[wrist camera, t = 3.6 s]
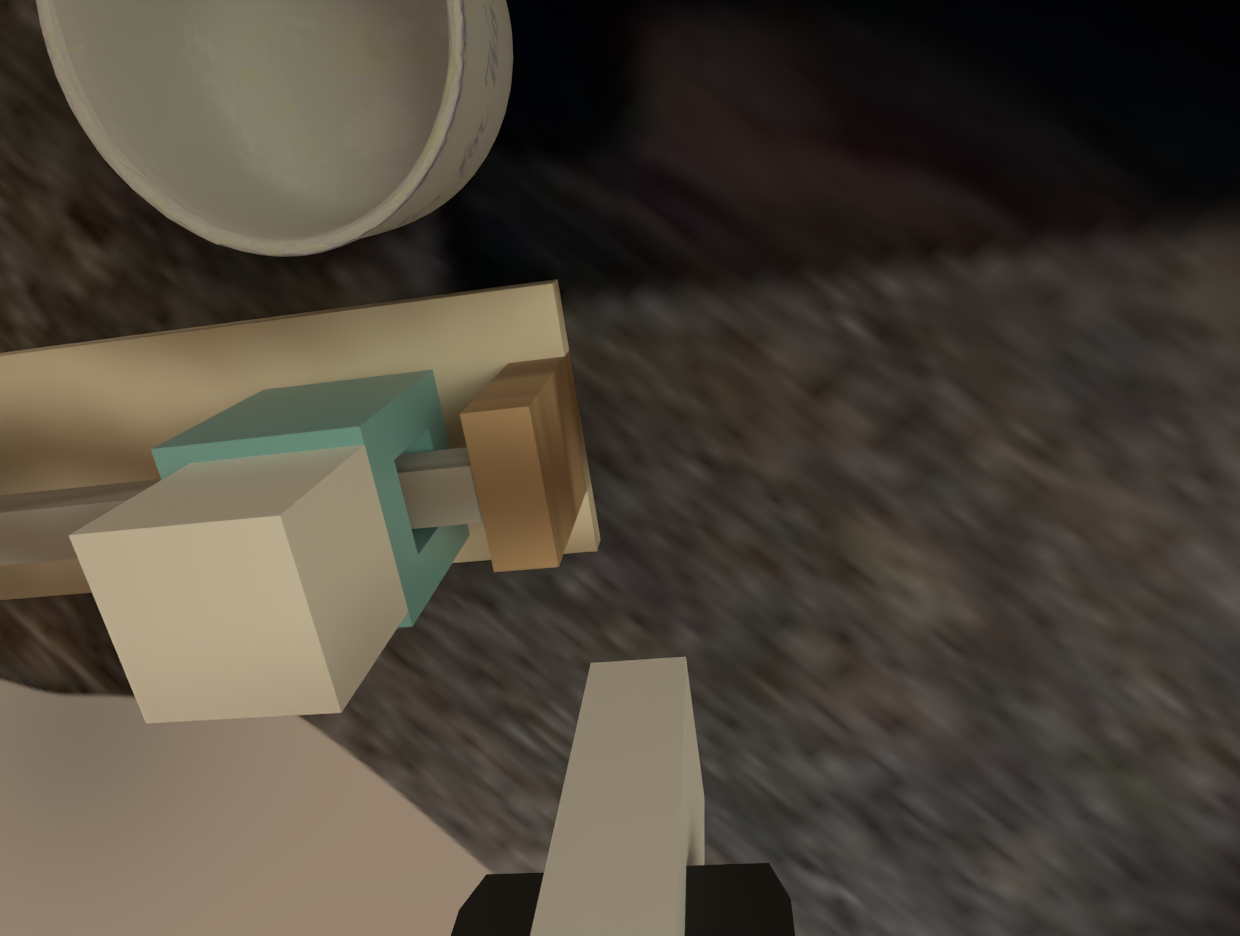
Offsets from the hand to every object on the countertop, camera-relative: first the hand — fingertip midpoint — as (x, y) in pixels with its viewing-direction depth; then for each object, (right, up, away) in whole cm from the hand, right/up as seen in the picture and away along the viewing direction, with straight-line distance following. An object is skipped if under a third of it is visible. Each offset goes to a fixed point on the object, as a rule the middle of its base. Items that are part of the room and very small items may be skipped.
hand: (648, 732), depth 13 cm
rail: (-16, +5, +19) cm, 25 cm away
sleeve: (-9, +4, +15) cm, 18 cm away
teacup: (-8, +19, +13) cm, 24 cm away
